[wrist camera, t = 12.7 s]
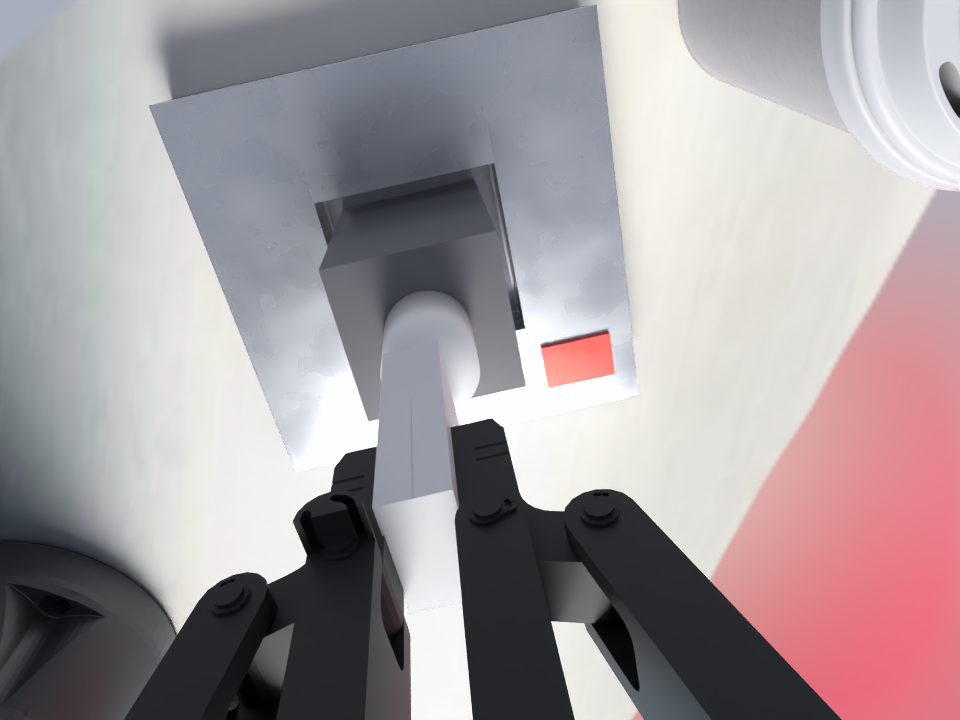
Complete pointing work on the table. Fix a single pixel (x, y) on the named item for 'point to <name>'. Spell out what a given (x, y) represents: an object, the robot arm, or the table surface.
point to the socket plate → (407, 169)
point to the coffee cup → (847, 70)
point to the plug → (423, 290)
